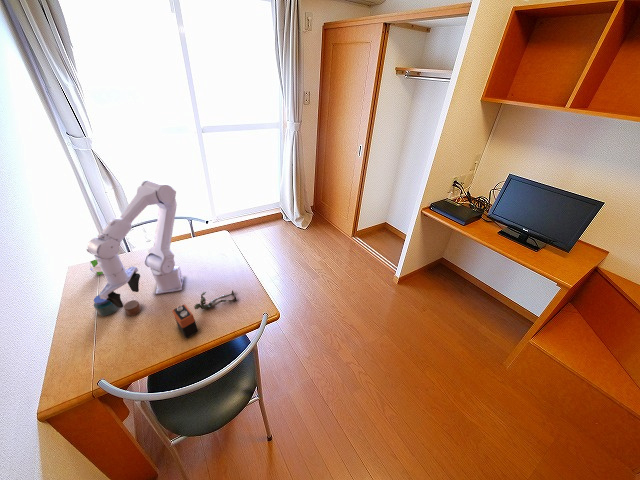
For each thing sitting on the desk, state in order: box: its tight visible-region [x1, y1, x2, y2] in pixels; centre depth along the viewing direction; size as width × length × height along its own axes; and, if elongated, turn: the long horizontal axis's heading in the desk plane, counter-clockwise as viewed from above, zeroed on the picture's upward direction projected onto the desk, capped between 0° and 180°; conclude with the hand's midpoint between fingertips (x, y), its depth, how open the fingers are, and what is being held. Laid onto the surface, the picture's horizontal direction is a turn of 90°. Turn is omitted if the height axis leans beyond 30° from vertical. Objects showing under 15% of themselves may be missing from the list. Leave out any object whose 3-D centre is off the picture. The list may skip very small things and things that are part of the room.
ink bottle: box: [93, 294, 120, 317], centre depth 97 cm, size 6×6×6 cm
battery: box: [172, 303, 199, 339], centre depth 91 cm, size 4×7×10 cm, turn 46°
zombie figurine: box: [193, 290, 237, 310], centre depth 102 cm, size 5×7×15 cm
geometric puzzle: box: [89, 259, 104, 276], centre depth 114 cm, size 7×7×8 cm
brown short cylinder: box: [123, 299, 142, 316], centre depth 98 cm, size 5×5×3 cm
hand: (128, 298), depth 95 cm, fingers open, 7 cm apart
